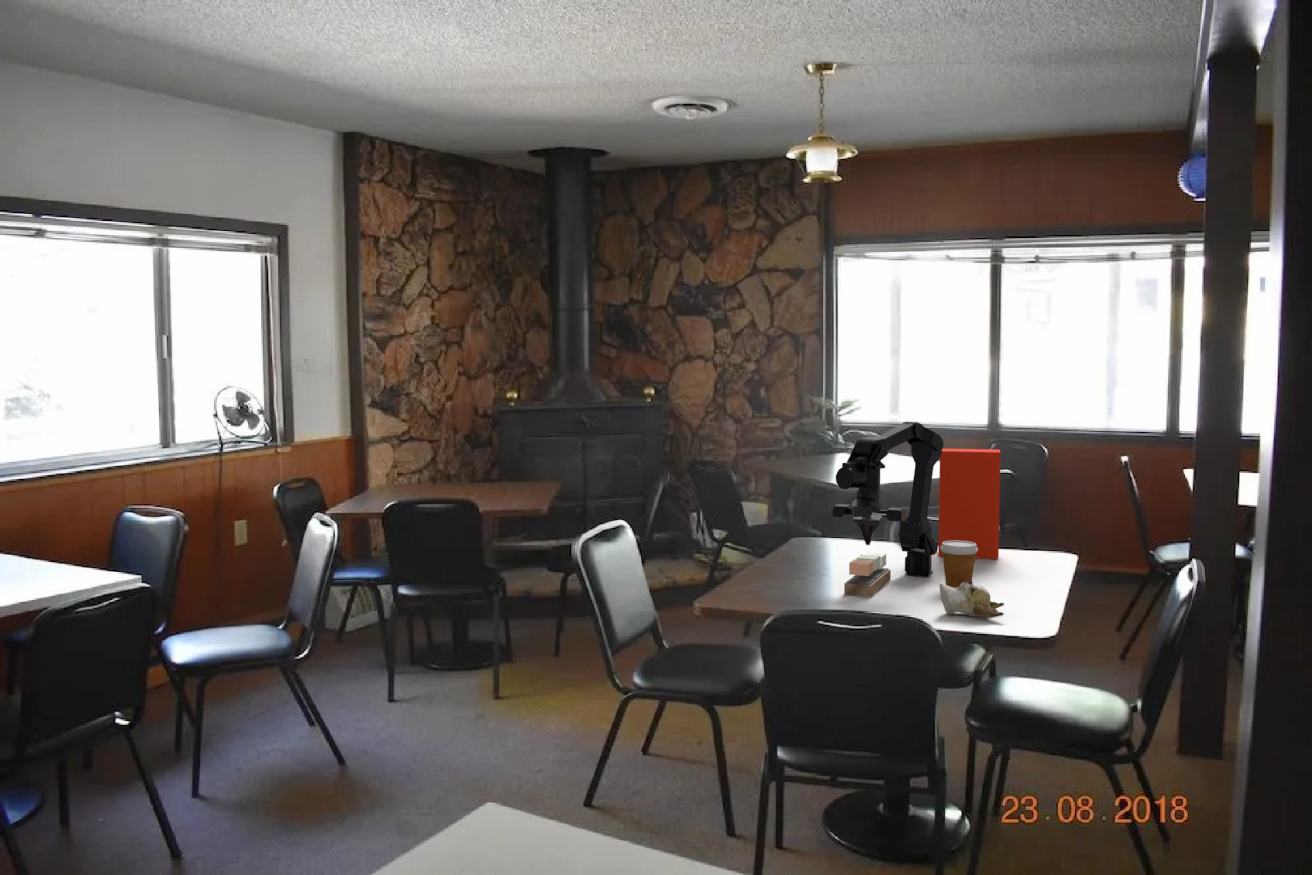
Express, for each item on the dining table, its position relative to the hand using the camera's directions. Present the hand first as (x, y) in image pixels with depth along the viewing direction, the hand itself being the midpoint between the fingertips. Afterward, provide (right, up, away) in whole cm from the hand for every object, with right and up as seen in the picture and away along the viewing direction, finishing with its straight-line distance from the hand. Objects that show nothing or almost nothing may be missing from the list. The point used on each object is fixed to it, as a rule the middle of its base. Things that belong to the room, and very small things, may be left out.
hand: (867, 544), depth 284 cm
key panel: (0, -11, +1) cm, 11 cm away
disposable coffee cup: (+24, -12, -2) cm, 26 cm away
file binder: (+38, -8, +41) cm, 57 cm away
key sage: (0, -6, 0) cm, 6 cm away
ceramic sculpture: (+19, -14, -29) cm, 37 cm away
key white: (+3, -6, +6) cm, 10 cm away
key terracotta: (-3, -7, -6) cm, 10 cm away
